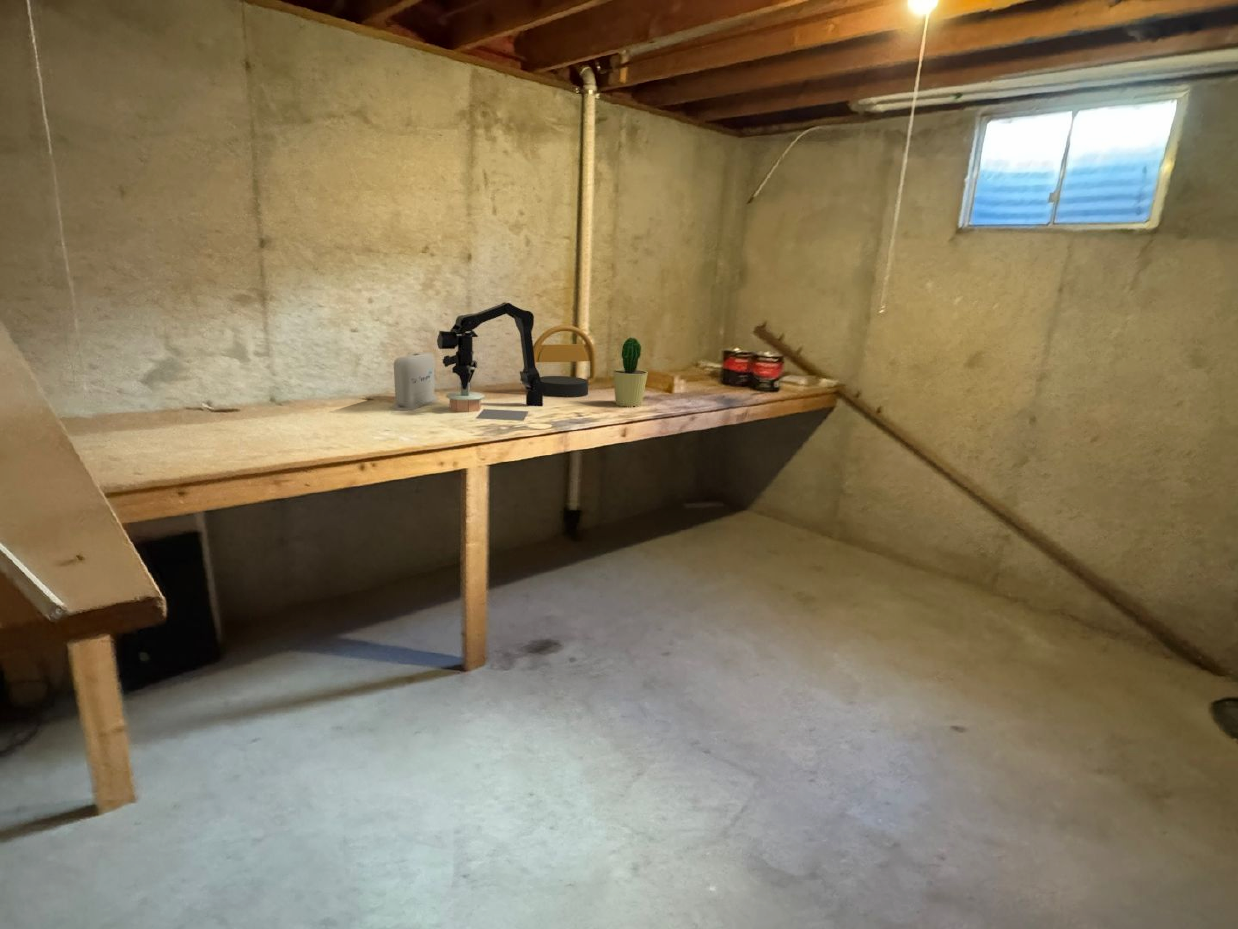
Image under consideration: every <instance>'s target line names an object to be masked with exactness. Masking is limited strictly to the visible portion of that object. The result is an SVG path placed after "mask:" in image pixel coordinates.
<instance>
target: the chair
mask: <svg viewBox="0 0 1238 929" xmlns="http://www.w3.org/2000/svg"><path fill="white" fill-rule="evenodd" d="M559 332H570V333H572V334H573V333H574V334H576V335H577V336H579V337H580V338H581V339H582V340H583V342H584V343H585V344H583V343H579V344H578V343H577V344H576V343H575V344H574V343H572V344H569V343H567V344H565V343H564V344H563V343H561V344H559V343H558V344H557V343H555V344H547V343H546V344H543V343H544V341H545V340H546V339H548V338H549V337H550V336H551V335H553V334H556V333H559ZM533 350H534V359H535V364H537V363H567V362H568V363H569V362H571V363H572V362H577V363H578V362H589V378H588V379H586V378H583V377H577V376H568V375H567V376H566V375H546V376H545V375H544V376H540V379H541V383H542V384H543V385H544V386H545V387H546V391H545V393H543V397H544V396H546V397H552V398H563V399H564V398H565V399H566V398H573V399H574V398H582V397H587V395H589V386H590V385H592V384H593V383H594V382H595V380H596V376H597V375H596V371H597V370H596V369H597V367H596V364H597V362H596V350H595V347H594V344H593V342H592V341H591V339H590V338H589V336H588V335H587V334H586V333H585V332H584V331H583V330H582V329H580V328H578V327H576V326H574V325H569V324H563V325H562V324H560V325H555V326H553V327H550V328H548V329H547V330H545V332H543V333H542V334H541V335H539V337H538V338H537V339H536V341H535V342H534V343H533Z"/></svg>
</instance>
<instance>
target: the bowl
mask: <svg viewBox="0 0 1238 929" xmlns="http://www.w3.org/2000/svg"><path fill="white" fill-rule="evenodd" d="M481 407H482V399H479V400H454V399H449V410H450V411H452V412H456V413H474V412H475V413H476V412H479V411H480V410H482V408H481Z"/></svg>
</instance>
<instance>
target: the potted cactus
mask: <svg viewBox="0 0 1238 929" xmlns="http://www.w3.org/2000/svg"><path fill="white" fill-rule="evenodd" d="M642 347H643V345H641V344H640V341H639V340H638V339H637V338H635V337H627V338H626V340H625V341H623V342H622V346H621V347H620V349H621V351H620V359H622V367H623V368H619V369H618V368H617V369H613V370H612V375H613V377H612V379H613V386H614V400H615V405H616V406H618V405H621V406H620V407H622V406H639V405H641V406H642V402H643V399H644V394H645V389H646V383H647V379H648V373H649V372H648V371H646V370H640V369H638V366H639V365H640V364H639V359H641V356H642ZM639 407H640V406H639Z"/></svg>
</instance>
